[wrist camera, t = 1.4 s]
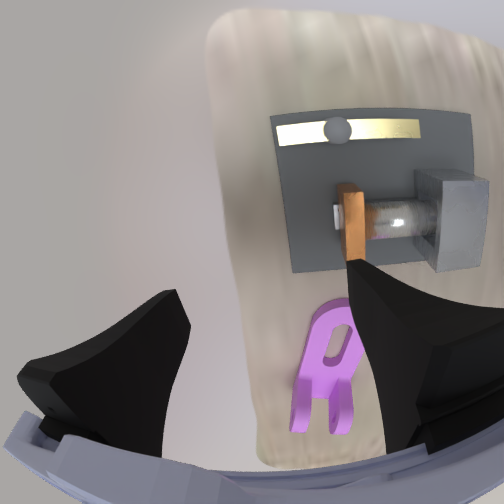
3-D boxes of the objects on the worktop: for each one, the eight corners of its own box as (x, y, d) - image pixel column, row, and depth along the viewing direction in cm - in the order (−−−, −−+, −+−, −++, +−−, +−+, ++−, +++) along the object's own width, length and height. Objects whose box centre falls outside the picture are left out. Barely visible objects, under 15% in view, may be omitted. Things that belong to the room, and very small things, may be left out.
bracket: (339, 390, 28) (342, 440, 21) (292, 386, 28) (288, 437, 22) (377, 300, 22) (396, 356, 16) (317, 294, 23) (321, 351, 17)
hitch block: (471, 168, 16) (507, 181, 11) (467, 237, 18) (497, 263, 14) (329, 172, 18) (339, 185, 14) (335, 250, 21) (343, 283, 16)
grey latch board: (467, 114, 14) (494, 114, 11) (465, 253, 19) (486, 273, 15) (270, 116, 17) (264, 112, 14) (292, 270, 22) (291, 297, 19)
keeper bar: (409, 120, 14) (418, 119, 13) (411, 137, 15) (420, 138, 13) (278, 127, 16) (276, 126, 15) (281, 145, 17) (279, 146, 15)
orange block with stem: (425, 179, 16) (444, 188, 13) (423, 242, 18) (439, 259, 15) (336, 184, 17) (343, 193, 15) (341, 250, 19) (346, 268, 17)
